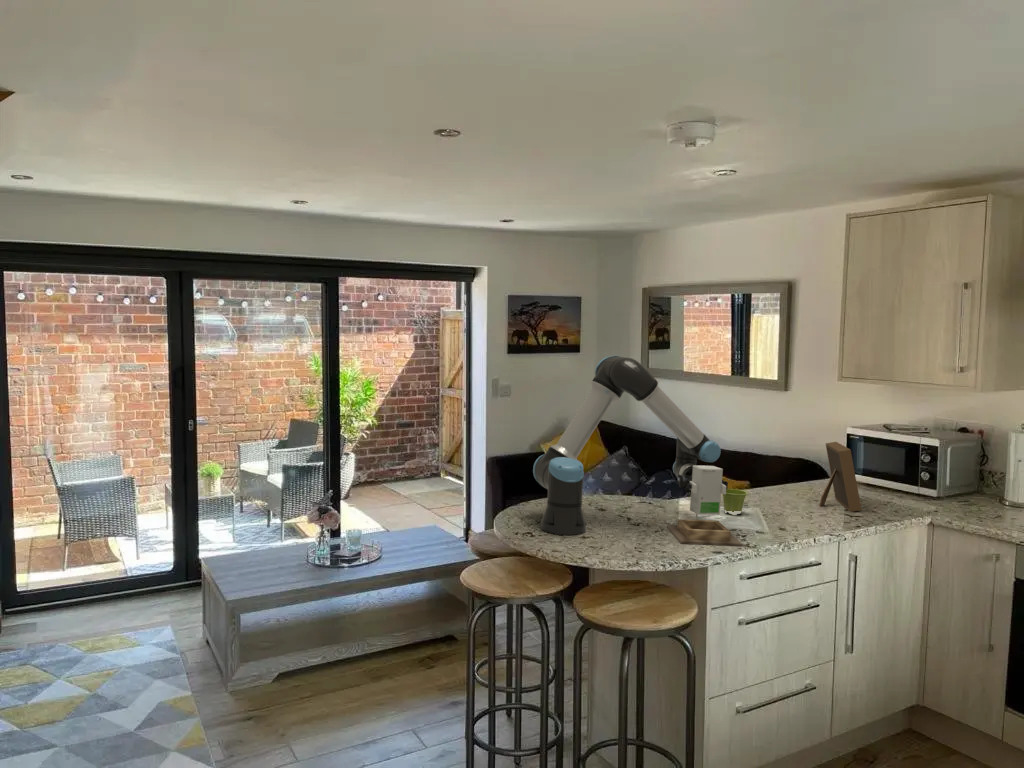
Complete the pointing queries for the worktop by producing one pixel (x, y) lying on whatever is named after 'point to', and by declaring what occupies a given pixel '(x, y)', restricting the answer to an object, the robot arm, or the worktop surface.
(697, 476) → the skincare box
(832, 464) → the photo frame
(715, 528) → the socket board
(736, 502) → the plant pot
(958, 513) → the worktop surface
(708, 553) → the worktop surface
